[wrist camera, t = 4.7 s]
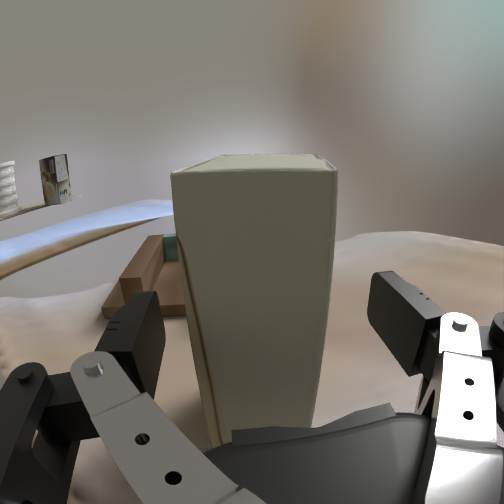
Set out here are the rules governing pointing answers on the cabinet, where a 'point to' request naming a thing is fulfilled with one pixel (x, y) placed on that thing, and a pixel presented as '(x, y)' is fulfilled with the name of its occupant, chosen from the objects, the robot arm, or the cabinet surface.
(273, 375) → the skincare box
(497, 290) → the cabinet surface
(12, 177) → the decorative container
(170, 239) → the rack
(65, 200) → the coffee box
